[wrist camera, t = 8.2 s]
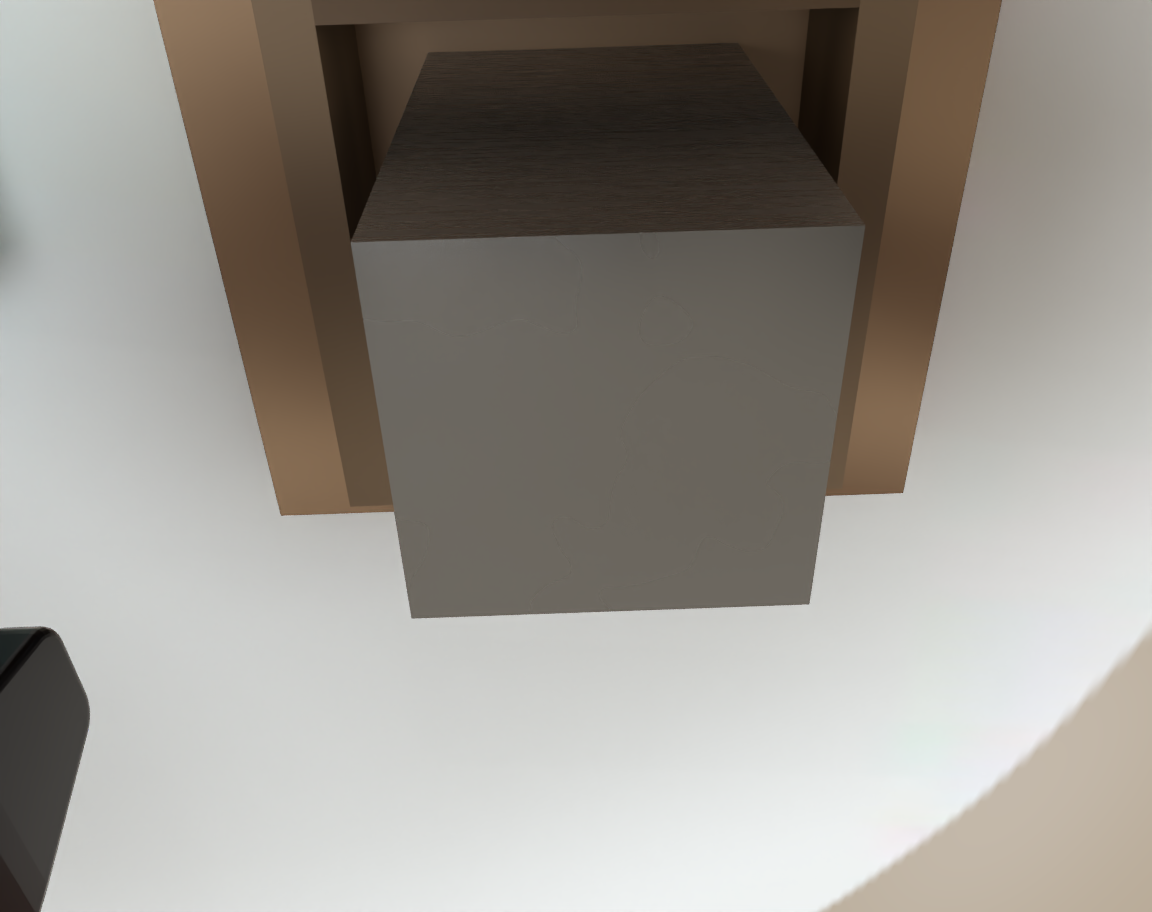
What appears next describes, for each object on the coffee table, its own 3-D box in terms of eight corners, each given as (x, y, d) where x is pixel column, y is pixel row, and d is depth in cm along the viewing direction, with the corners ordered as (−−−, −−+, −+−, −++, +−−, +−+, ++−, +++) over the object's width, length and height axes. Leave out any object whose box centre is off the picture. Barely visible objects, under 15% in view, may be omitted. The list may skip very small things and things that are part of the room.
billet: (720, 320, 17) (810, 604, 11) (456, 330, 17) (411, 618, 11) (737, 42, 14) (865, 224, 9) (428, 52, 14) (351, 242, 9)
